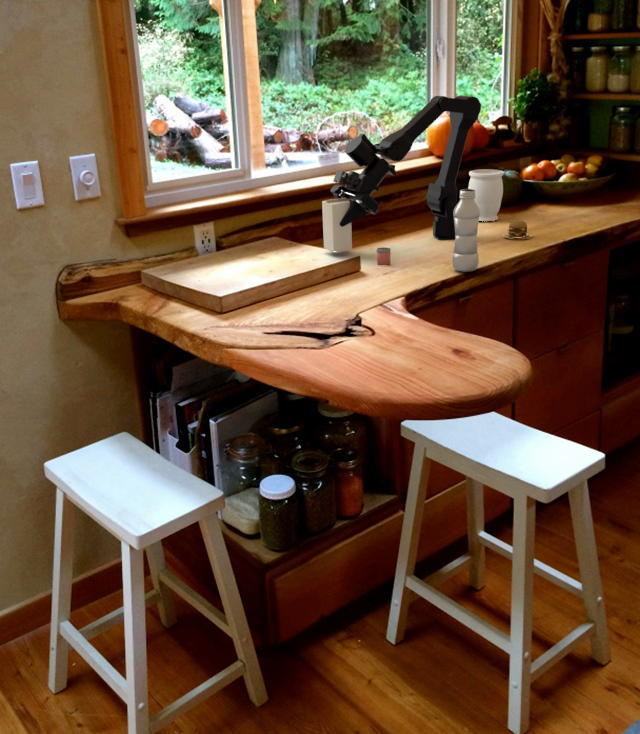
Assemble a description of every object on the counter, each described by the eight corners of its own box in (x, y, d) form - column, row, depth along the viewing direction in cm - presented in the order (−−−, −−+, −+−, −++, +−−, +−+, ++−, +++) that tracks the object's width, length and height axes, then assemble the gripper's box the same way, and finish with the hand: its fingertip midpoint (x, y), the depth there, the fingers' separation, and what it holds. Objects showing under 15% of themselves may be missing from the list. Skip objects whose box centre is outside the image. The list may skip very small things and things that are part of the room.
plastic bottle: (462, 276, 200) (465, 193, 192) (446, 270, 206) (448, 189, 198) (483, 272, 203) (487, 190, 195) (467, 266, 208) (469, 186, 201)
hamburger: (504, 245, 229) (505, 226, 227) (490, 236, 240) (490, 217, 238) (545, 242, 231) (546, 223, 228) (529, 233, 242) (530, 214, 239)
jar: (506, 218, 259) (508, 169, 253) (494, 224, 251) (496, 175, 245) (474, 215, 264) (476, 168, 259) (462, 221, 256) (463, 173, 251)
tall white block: (342, 245, 227) (340, 196, 222) (352, 249, 222) (350, 199, 217) (323, 248, 225) (321, 198, 220) (333, 252, 220) (331, 201, 215)
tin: (388, 262, 215) (388, 247, 213) (391, 265, 211) (391, 250, 210) (375, 262, 214) (375, 248, 213) (378, 266, 211) (378, 251, 210)
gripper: (335, 154, 224) (300, 199, 224) (368, 162, 209) (330, 211, 209) (361, 180, 230) (327, 224, 230) (395, 190, 215) (359, 237, 215)
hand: (335, 223), depth 221 cm, fingers closed on tall white block, 6 cm apart
